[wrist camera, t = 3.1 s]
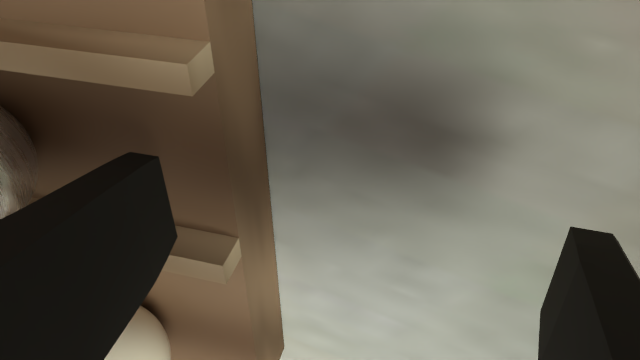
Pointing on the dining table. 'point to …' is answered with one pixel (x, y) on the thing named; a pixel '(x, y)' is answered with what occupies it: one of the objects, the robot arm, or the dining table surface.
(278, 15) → the dining table surface
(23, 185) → the steel ball
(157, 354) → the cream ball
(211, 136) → the hole plate
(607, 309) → the robot arm
